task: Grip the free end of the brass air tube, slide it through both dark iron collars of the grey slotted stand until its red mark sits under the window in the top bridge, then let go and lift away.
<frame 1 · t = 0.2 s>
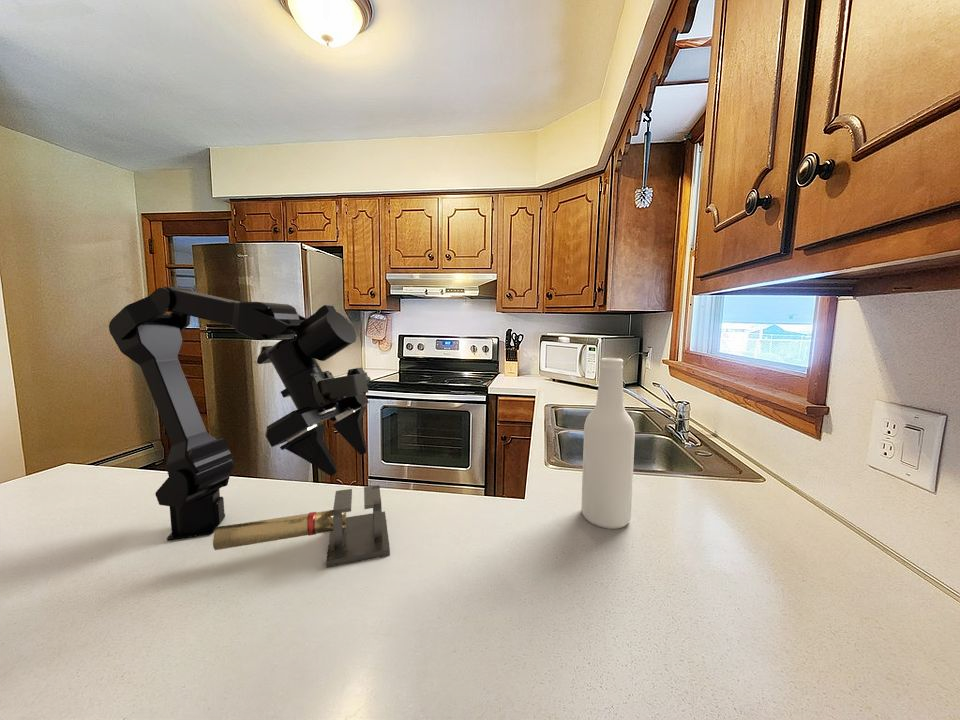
hand: (350, 463, 55), 15 cm above the countertop, tool tilted 30°, fingers open, 9 cm apart
air tube: (284, 527, 56), point 4 cm above the countertop, slide at 0.0 cm
grey slotted stand: (359, 539, 60), on the countertop
alcohol: (605, 518, 67), on the countertop
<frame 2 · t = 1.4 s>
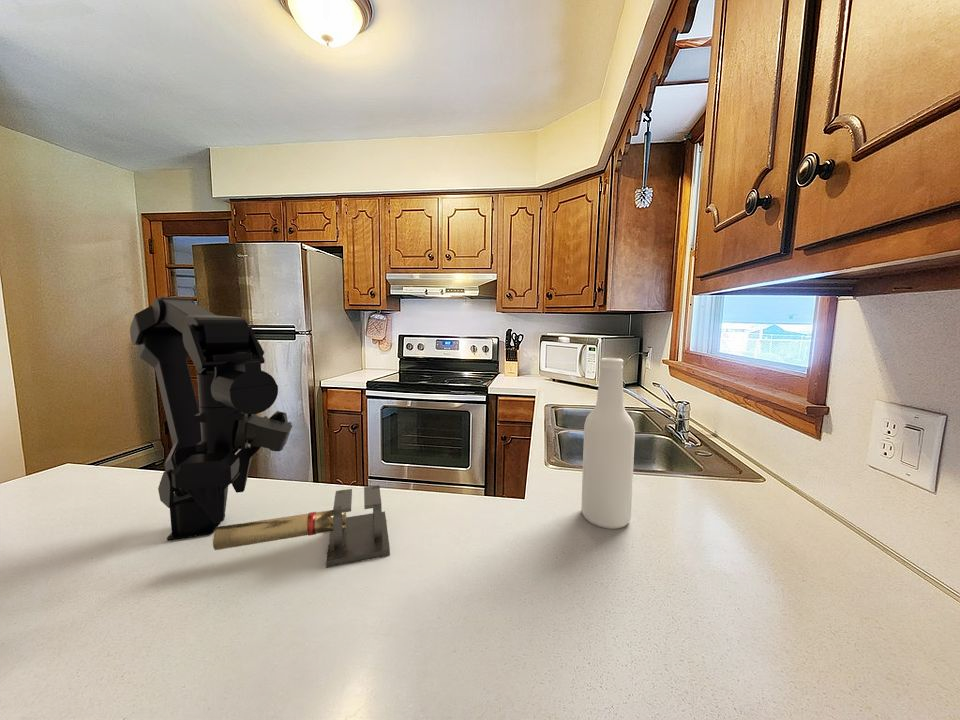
hand: (230, 505, 54), 9 cm above the countertop, tool pointing down, fingers open, 9 cm apart
nothing on the countertop moved.
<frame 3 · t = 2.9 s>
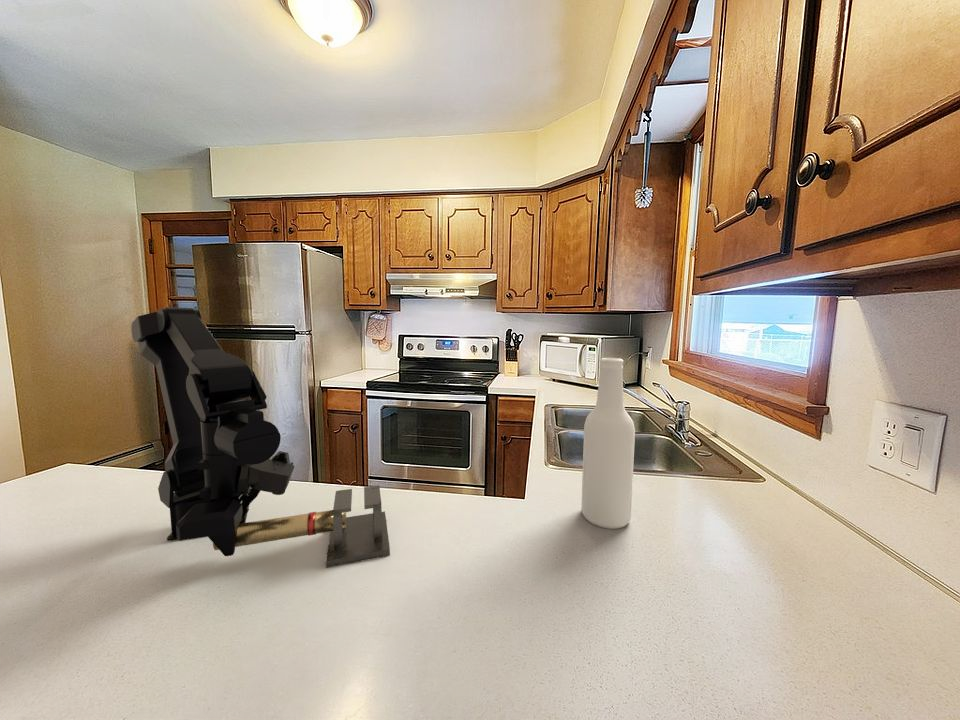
hand: (233, 548, 54), 2 cm above the countertop, tool pointing down, fingers closed on air tube, 3 cm apart
air tube: (284, 527, 56), point 4 cm above the countertop, slide at 0.0 cm, touching gripper
everything else where it was.
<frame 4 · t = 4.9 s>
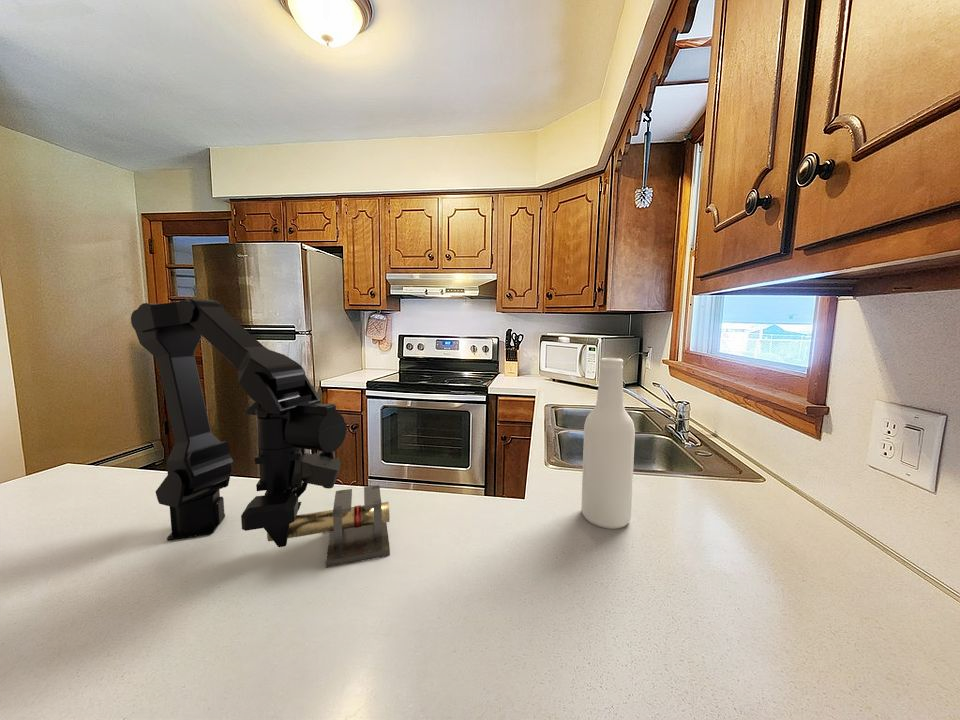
hand: (284, 539, 56), 2 cm above the countertop, tool pointing down, fingers closed on air tube, 3 cm apart
air tube: (332, 520, 58), point 4 cm above the countertop, slide at 6.9 cm, touching gripper
everything else where it was.
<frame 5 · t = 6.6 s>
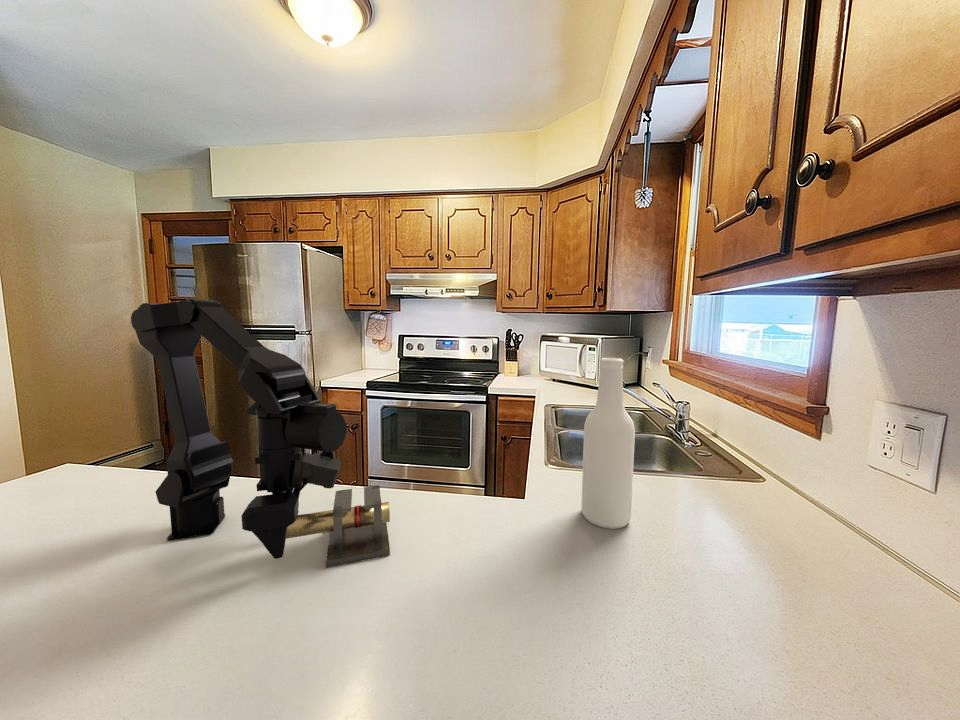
hand: (285, 539, 56), 2 cm above the countertop, tool pointing down, fingers open, 9 cm apart
air tube: (332, 520, 58), point 4 cm above the countertop, slide at 7.0 cm
everything else where it was.
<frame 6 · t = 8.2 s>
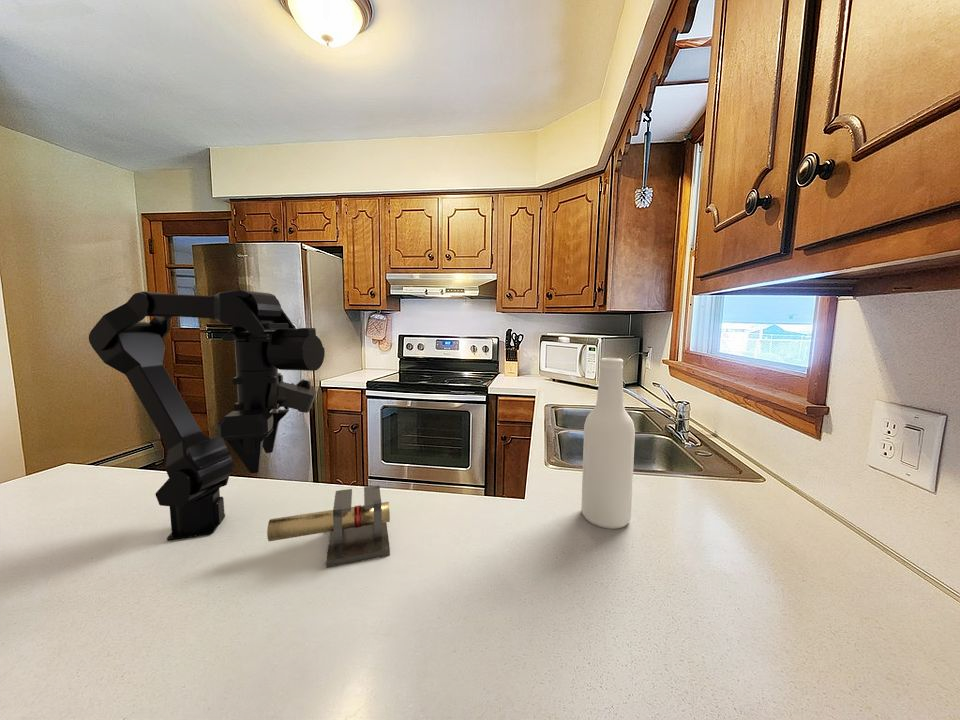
hand: (262, 461, 60), 13 cm above the countertop, tool pointing down, fingers open, 9 cm apart
nothing on the countertop moved.
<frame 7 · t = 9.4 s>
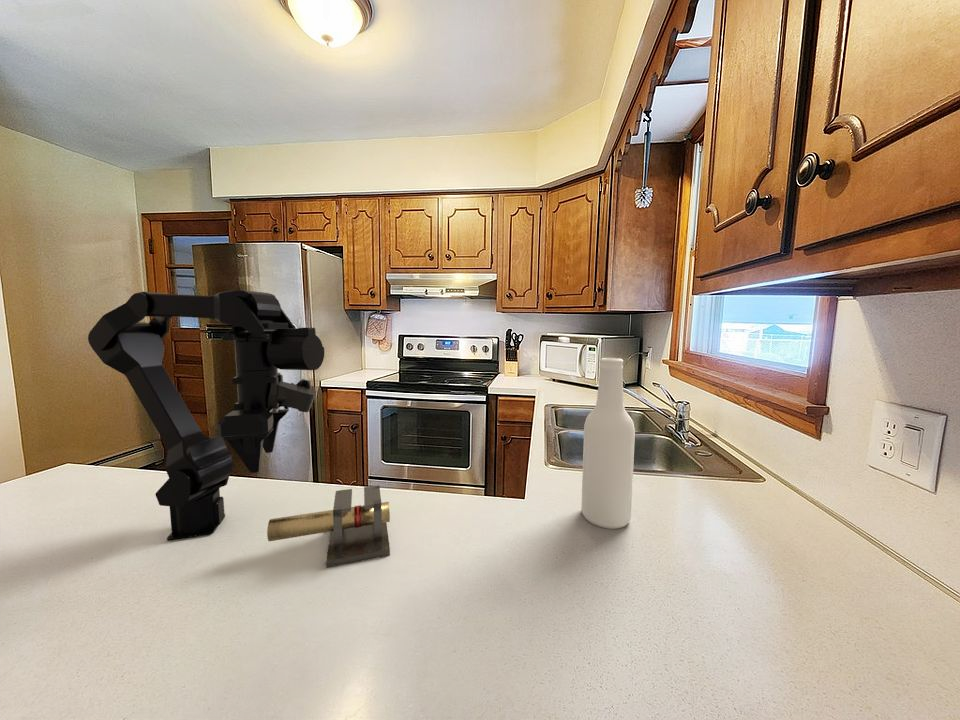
hand: (262, 461, 60), 13 cm above the countertop, tool pointing down, fingers open, 9 cm apart
nothing on the countertop moved.
at the end: air tube slide at 7.0 cm; the gripper is holding nothing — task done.
